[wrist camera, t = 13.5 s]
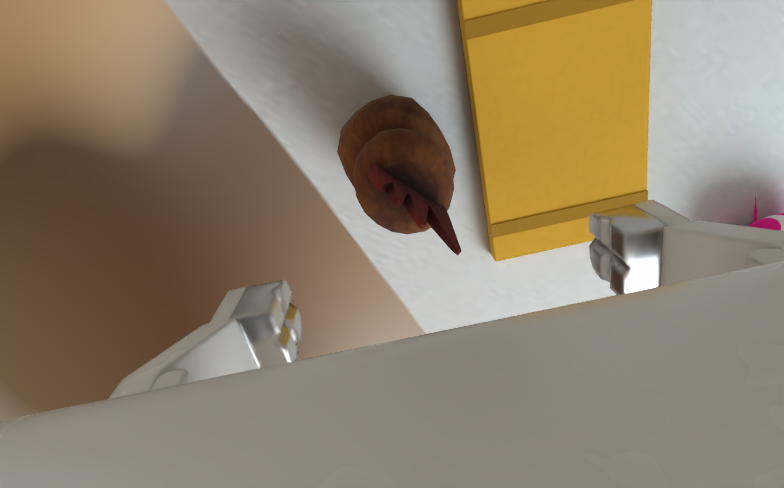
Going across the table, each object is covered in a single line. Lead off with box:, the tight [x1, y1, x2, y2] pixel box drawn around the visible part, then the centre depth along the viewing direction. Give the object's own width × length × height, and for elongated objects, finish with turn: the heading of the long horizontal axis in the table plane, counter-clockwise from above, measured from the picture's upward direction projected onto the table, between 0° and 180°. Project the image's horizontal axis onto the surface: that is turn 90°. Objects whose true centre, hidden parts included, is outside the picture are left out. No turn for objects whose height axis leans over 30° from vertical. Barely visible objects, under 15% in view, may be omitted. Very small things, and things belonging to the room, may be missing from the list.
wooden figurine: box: [337, 95, 461, 255], centre depth 22 cm, size 7×6×15 cm
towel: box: [457, 0, 652, 261], centre depth 28 cm, size 11×18×1 cm, turn 12°
